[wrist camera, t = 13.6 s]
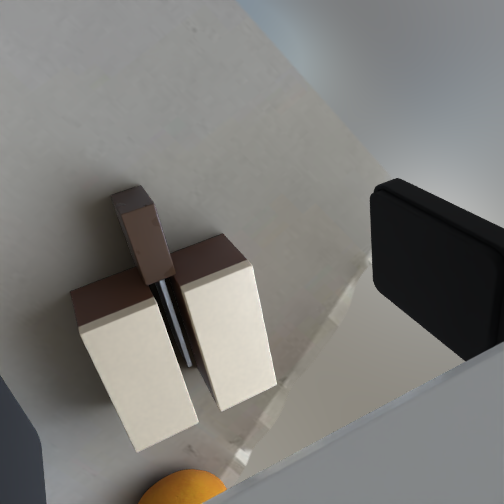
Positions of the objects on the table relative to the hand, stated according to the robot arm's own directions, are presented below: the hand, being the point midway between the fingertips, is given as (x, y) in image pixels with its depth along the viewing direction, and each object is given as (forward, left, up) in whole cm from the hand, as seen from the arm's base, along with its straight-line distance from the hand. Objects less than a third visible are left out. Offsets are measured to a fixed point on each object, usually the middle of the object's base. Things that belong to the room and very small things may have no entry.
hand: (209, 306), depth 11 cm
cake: (+13, +15, -26) cm, 32 cm away
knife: (+9, +11, -26) cm, 29 cm away
